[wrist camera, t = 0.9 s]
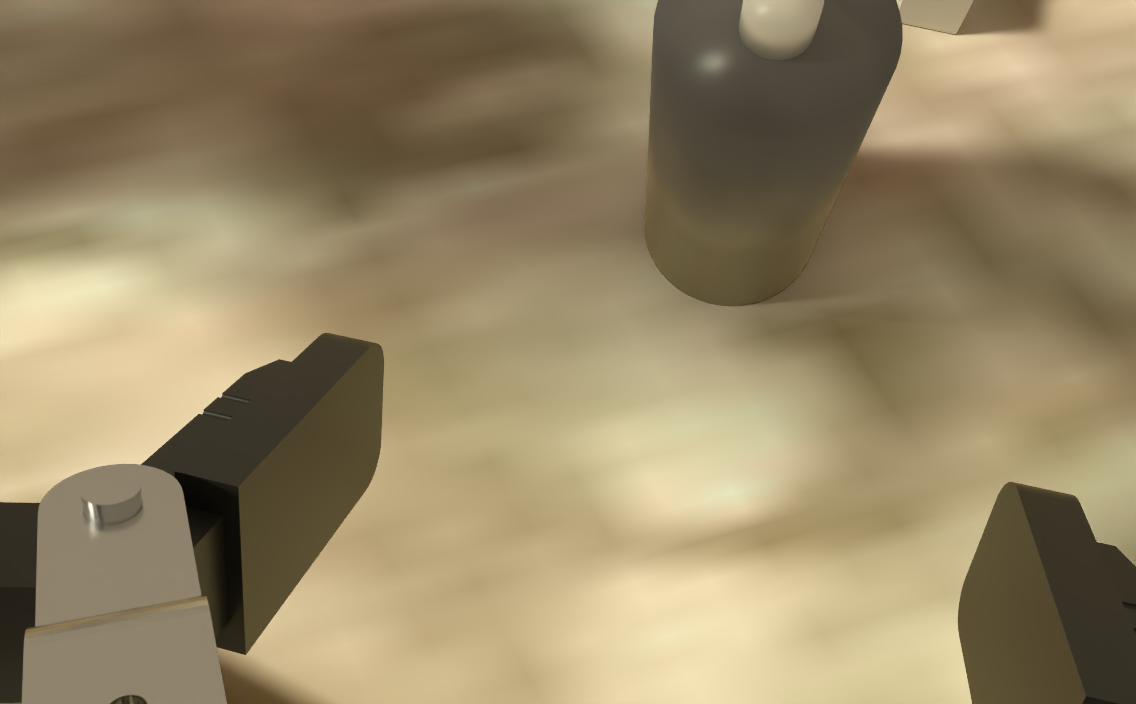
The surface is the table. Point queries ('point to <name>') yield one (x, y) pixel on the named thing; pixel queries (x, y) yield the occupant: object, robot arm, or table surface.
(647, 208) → the dark grey tube
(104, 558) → the robot arm
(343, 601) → the table surface
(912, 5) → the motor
